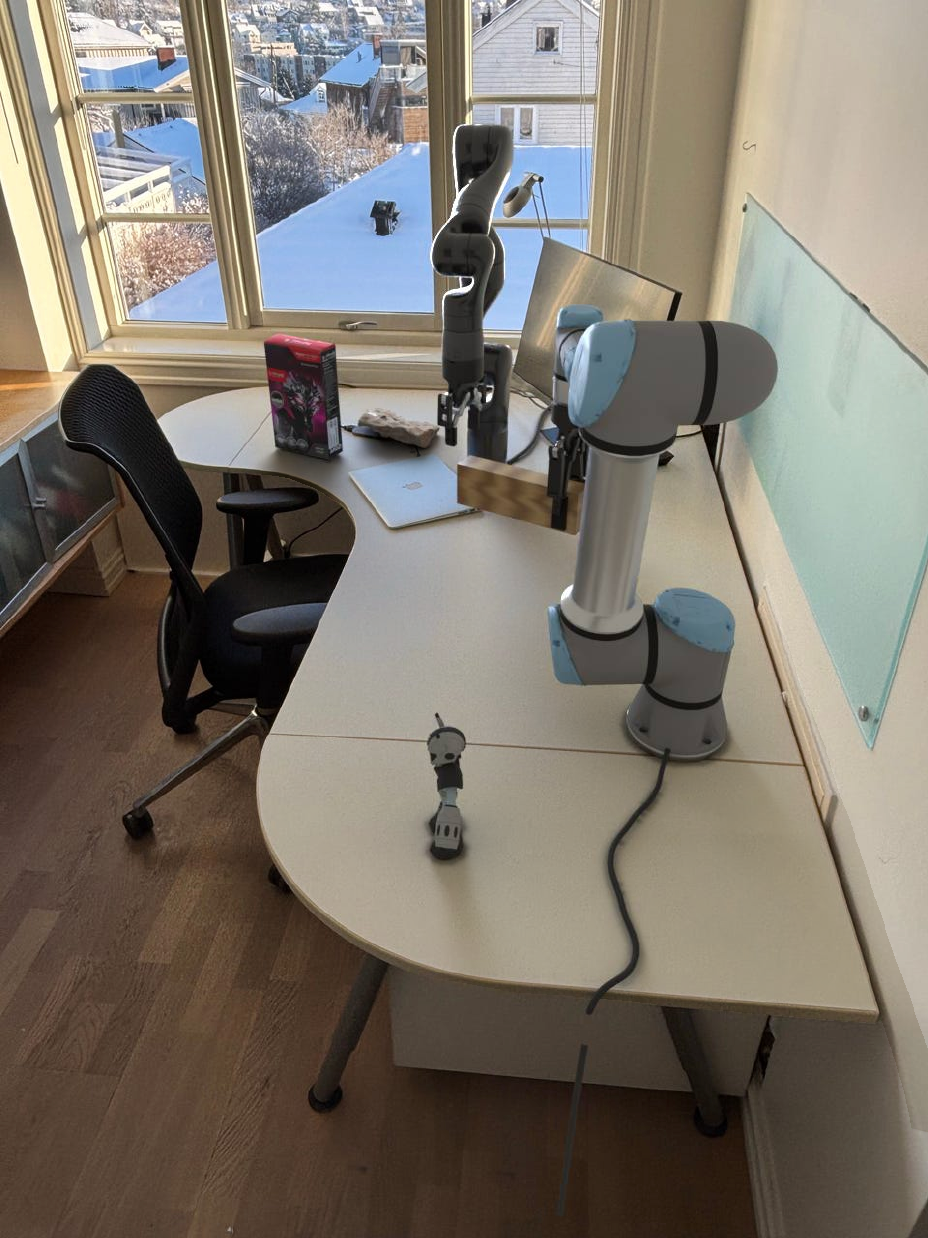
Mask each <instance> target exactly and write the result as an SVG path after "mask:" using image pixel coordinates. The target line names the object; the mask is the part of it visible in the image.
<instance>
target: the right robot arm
mask: <svg viewBox="0 0 928 1238" xmlns="http://www.w3.org/2000/svg"><path fill="white" fill-rule="evenodd" d="M554 350H555V351H554V370H553V376H552V378H551V382H552V399H553V400H552V401H551V404H552V408H551V409H550V421H551V423H552V424H553V425H554V426H556V427H557V434H556V438H555V445H553V444H550V445H549V446H548V448H547V453H548V469H547V471H548V472H547V474H548V484H547V497H550V498H553V501H552V516H551V528H554V529H558V530H562V531H565V530H566V522H567V509H568V497H566V494H567V488H568V482H569V480H572V481H576V482H580V483H584V484H585V488H584V497H583V506H582V514H581V523H580V531H579V532H578V541H577V548H576V549H577V550H576V558H575V567H574V575H573V583H572V584H570V585H569V586H568V587H566V589H565V590H564V591H563V592H562V594H561V598H560V602H559V603H555V604H552V605H550V606H548V608H547V622H548V623H547V624H548V633H549V634H548V635H549V644H550V651H551V652H550V653H551V660H552V661H551V662H552V668H553V674H554V677H555V678H556V680H557V681H558V682H560V683H561V684H564V685H572V686H573V685H574V686H581V687H586V686H604V685H605V686H614V685H618V686H619V685H640V688H639V689H638V691H637V692H636V694H635V695H634V697H633V699H632V701H631V702H630V704H629V706H628V708H627V712H626V719H625V728H626V732H627V734H628V736H629V738H630V739H631V741H632V742H634V744H636V745H637V746H638V747H639V748H640V749H641V750H643V751H645V752H646V753H648V754H650V755H651V756H654V757H656V758H659V759H661V763H660V765H659V766H660V767H659V771H658V774H657V780H656V783H655V785H654V788H653V789H652V791H651V793H650V794H649V796H648V797H647V798H646V799H645V801H643V803H642V804H641V805H640V806H639V807H638V808H637V809H636V810H635V811H634V812H633V814H632V815H631V816H630V818H629V819H628V820H627V822H626V823H625V824H624V825H623V826H622V828H621V829H620V830H619V831H618V833H617V834H616V835H615V837H614V838H613V839H612V841H611V844H610V846H609V850H608V853H607V861H606V862H607V871H608V876H609V879H610V882H611V885H612V888H613V891H614V894H615V896H616V899H617V903H618V907H619V911H620V914H621V917H622V919H623V922H624V924H625V927H626V929H627V931H628V935H629V937H630V940H631V945H632V946H631V947H632V953H631V959H630V962H629V963H628V965H627V967H626V968H624V969H623V970H622V971H621V972H620V973H618V974H616V975H615V976H614V977H612V978H610V979H609V980H608V981H606V982H605V983H603V984H602V985H601V986H600V987H599V988H598V989H597V990H596V992H595V993H594V994H593V995H592V997H591V998H590V1000H589V1002H588V1004H587V1006H586V1008H585V1014H586V1015H588V1016H590V1015H592V1014H593V1013H594V1011H595V1008H596V1006H597V1004H598V1003H599V1001H600V1000H601V998H602V997H603V996H604V995H605V994H606V993H607V992H608V991H610V990H611V989H612V988H613V987H615V986H616V985H618V984H620V983H621V982H623V981H624V980H625V979H627V978H628V977H629V976H630V975H631V974H632V973H633V972H634V970H635V969H636V966H637V965H638V961H639V958H640V942H639V938H638V935H637V932H636V928H635V927H634V924H633V923H632V920H631V918H630V915H629V913H628V910H627V905H626V902H625V899H624V895H623V892H622V889H621V887H620V884H619V881H618V878H617V875H616V871H615V865H614V862H615V861H614V860H615V852H616V850H617V847H618V845H619V844H620V842H621V840H622V839H623V838H624V837H625V835H626V834H627V833H628V832H629V830H630V829H631V828H632V827H633V825H634V824H635V823H636V821H637V820H638V818H639V817H640V816H641V815H642V814H643V813H644V812H645V810H646V809H647V808H648V807H649V806H650V805H651V804H652V803H653V801H654V800H655V799H656V797H657V796H658V794H659V792H660V791H661V788H662V785H663V781H664V777H665V772H666V768H667V764H668V761H670V762H675V763H694V762H700V761H703V760H706V759H709V758H711V757H714V755H716V754H718V752H720V751H721V750H722V748H723V747H724V744H725V743H726V740H727V739H726V738H727V733H728V721H727V716H726V712H725V708H724V707H725V706H724V701H723V692H724V686H725V682H726V678H727V674H728V673H727V672H728V668H729V664H730V659H731V654H732V651H733V649H734V646H735V632H736V620H735V617H734V614H733V612H732V611H731V609H730V608H729V607H728V606H727V605H726V604H725V603H724V602H723V601H722V600H720V599H718V598H716V597H715V596H713V595H711V594H709V593H707V592H704V591H701V590H698V589H695V588H689V587H671V588H670V587H669V588H667V589H665V590H663V591H660V592H659V593H658V594H657V596H656V597H655V599H654V600H653V603H650V604H647V603H646V604H644V603H643V601H642V598H641V596H640V595H639V594H638V593H637V587H638V581H639V574H640V569H641V564H642V558H643V551H644V546H645V541H646V535H647V529H648V523H649V518H650V512H651V506H652V500H653V495H654V488H655V482H656V479H657V478H656V477H657V472H658V467H659V462H660V461H659V460H660V455H662V454H664V453H665V452H667V451H669V450H670V449H671V448H672V447H673V446H674V444H675V442H676V440H677V439H676V438H677V435H678V429H679V427H680V426H681V427H683V426H711V425H720V424H725V423H729V422H732V421H735V420H738V419H741V418H743V417H746V416H747V415H748V414H750V413H752V412H753V411H755V410H756V409H758V408H759V407H760V406H761V405H763V403H764V402H765V401H766V400H767V399H768V398H769V396H770V395H771V393H772V391H773V389H774V387H775V384H776V382H777V378H778V371H779V365H778V359H777V356H776V353H775V350H774V349H773V347H772V345H771V344H770V342H769V340H767V338H765V337H764V336H763V335H762V334H760V333H759V332H757V331H756V330H754V329H752V328H750V327H748V326H745V325H742V324H738V323H736V322H730V321H726V320H725V321H724V320H632V319H630V318H624V319H620V320H612V321H604V312H603V311H602V309H600V308H599V307H597V306H594V305H589V304H569V305H565V306H563V307H561V308H560V309H559V311H558V312H557V320H556V326H555V348H554ZM584 478H585V479H584ZM588 1048H589V1046H588V1045H586V1044H583V1043H581V1044H580V1049H579V1055H578V1060H577V1067H576V1073H575V1078H574V1086H573V1093H572V1099H571V1106H570V1112H569V1121H568V1127H567V1135H566V1142H565V1148H564V1149H565V1151H564V1158H563V1164H562V1165H563V1166H562V1171H561V1180H560V1189H559V1195H558V1203H557V1208H556V1216H557V1217H559V1218H561V1217H562V1216H563V1215H564V1214H563V1213H564V1207H565V1200H566V1194H567V1188H568V1179H569V1172H570V1166H571V1159H572V1153H573V1152H572V1150H573V1143H574V1137H575V1131H576V1123H577V1115H578V1111H579V1110H578V1109H579V1102H580V1096H581V1092H582V1091H581V1090H582V1085H583V1078H584V1071H585V1065H586V1061H587V1060H586V1059H587V1054H588Z"/></svg>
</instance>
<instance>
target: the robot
mask: <svg viewBox="0 0 928 1238" xmlns="http://www.w3.org/2000/svg"><path fill="white" fill-rule="evenodd" d="M434 717H435V720H436V723H437V726H438V727H437V728H436V729H435V730H433V731H432V732H431V733H430V734H429V735H428V737H427V739H426V746H427V751H428V753H429V756H430V759H429V761H430V765H431V766H434V767H433V770H434V772H435V775H436V776H437V778H436V788H437V789H436V790H437V792H438V794H439V797H440V800H441V801H440V802H439V804H438V806H437V810H436V811H435V813H434V815H432V817H431V818H430V820H429V822H428V824H429V827H430V829H431V831H432V832H433V833H434V838H433V840H432V842H431V845H430V848H429V852H430V853H431V854H432V856H434V857H435V859H438V860H442V861H445V860H451V859H453V858H456V857H458V856H460V855H461V854H462V852H463V848H464V841H463V840H464V838H463V835H462V832H461V831H462V827H463V825H462V820H463V819H462V814H461V809H460V808H459V807H458V806H457V801H456V800H457V799H458V795H459V793H458V789H459V790H463V789H464V776H463V771H462V768H461V762H460V760H461V759H462V752H464V751H465V749H466V747H467V738H466V736H465V733H464V732H462V730H460V729H459V728H457V727H456V726H452V725H445V723H444V721H443V719H442V718H441V716H440V714H439V713H438V712H435V714H434Z"/></svg>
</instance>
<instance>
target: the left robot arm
mask: <svg viewBox="0 0 928 1238" xmlns="http://www.w3.org/2000/svg"><path fill="white" fill-rule="evenodd" d="M452 141H453V143H452V145H453V146H452V154H453V170H454V180H455V190H456V198H455V200H454V203H453V207H452V211H451V214H450V218H449V219H448V220H447V222H446V223H445V224H444V225H443V226H442V227H441V228H440V230H439V231H438V233H437V234H436V236H435V238H434V240H433V243H432V246H431V250H430V262H431V265H432V268H433V270H434V271H435V272H436V274H438V275H440V276H442V277H446V278H459V287H460V288H457V289H451V290H449V291H447V292H446V293H445V294H444V295H443V298H442V333H441V376H442V379H443V380H445V381H446V382H447V384H448V385H447V390H446V392H445V393H441V392H439V393H438V394H437V414H436V415H437V417H436V426H438V427H444V443H445V445H446V446H449V447H455V446H457V445H458V424H459V420H460V417H463V415H464V412H465V409H467V410H466V411H467V412H466V413H467V415H466V428H467V429H466V458H467V457H468V456H470V455H471V456H475V457H479V458H483V459H487V460H491V461H495V462H500V463H504V464H508V465H511V464H512V463H514V462H516V461H517V460H518V459H520V458H521V457H522V456H523V455H525V454H526V453H527V452H528V451H529V450H530V449H531V448H532V446H533V445H534V444H535V441H536V440H537V437H538V435H539V431H540V428H541V424H542V421H543V418H544V416H545V415H546V414H547V413H548V412H549V411H550V410H551V408H552V406H550V404H549V405H548V406H547V407H545V408H544V410H543V411H542V412H541V413H540V415H539V417H538V420H537V423H536V425H535V431H534V434H533V435H532V438H531V440H530V442H529V443H528V444H527V445H526V447H525V448H524V449H522V450H521V451H520V452H519V453H517V454H516V455H514V456H513V457H511V458H510V459H509V460H508V443H509V414H510V411H509V410H510V400H511V387H512V375H513V365H514V357H513V351H512V348H511V346H510V345H508V344H505V343H497V342H490V341H485V336H484V319H485V317H486V315H487V313H488V312H489V310H490V309H491V307H492V306H493V305H494V303H495V302H496V300H497V298H498V297H499V295H500V293H501V291H502V290H503V287H504V285H505V280H506V274H505V273H506V251H505V246H504V244H503V241H502V239H501V237H500V236H499V234H498V232H497V231H496V229H495V228H494V226H493V224H492V221H493V216H494V211H495V209H496V208H495V207H496V204H497V202H498V200H499V198H500V197H501V194H502V193H503V190H504V188H505V186H506V184H507V181H508V179H509V177H510V175H511V172H512V168H513V163H514V152H515V147H514V136H513V132H512V130H511V129H510V128H509V127H508V126H506V125H503V124H490V123H489V124H488V123H487V124H480V123H479V124H477V123H475V124H473V123H471V124H460V125H459V126H457V127H456V129H455V131H454V134H453V140H452ZM487 388H492V391H491V392H490V393H488V394H487V391H488V390H487ZM479 393H480V394H479ZM480 395H481V396H480Z"/></svg>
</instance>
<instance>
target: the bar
mask: <svg viewBox="0 0 928 1238" xmlns="http://www.w3.org/2000/svg"><path fill="white" fill-rule="evenodd" d="M456 466H457V467H456V471H457V472H456V504H458V505H462V506H465V507H469V508H474V509H477V510H481V511H485V512H488V513H491V514H495V515H498V516H502V517H507V518H510V519H514V520H517V521H521V522H524V523H529V524H532V525H535V526H539V527H542V528H547V529H550V530H553V531H557V532H561V533H565V534H568V535H572V536H577V534H579V531H580V523H581V514H582V506H583V497H584V488H585V484H584V483H580V482H576V481H572V480H569V482H568V488H567V494H566V497H568V509H567V522H566V530H565V531H562V530H558V529H554V528H551V516H552V501H553V498H550V497H547V484H548V473H544V472H539V471H536V470H531V469H527V468H524V467H520V466H516V465H511V464H504V463H500V462H495V461H491V460H487V459H483V458H479V457H475V456H471V455H470V456H468V457H467V456H466V457H465V458H463V459H462V460H461V461H459V462H458V463H457V464H456Z"/></svg>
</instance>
